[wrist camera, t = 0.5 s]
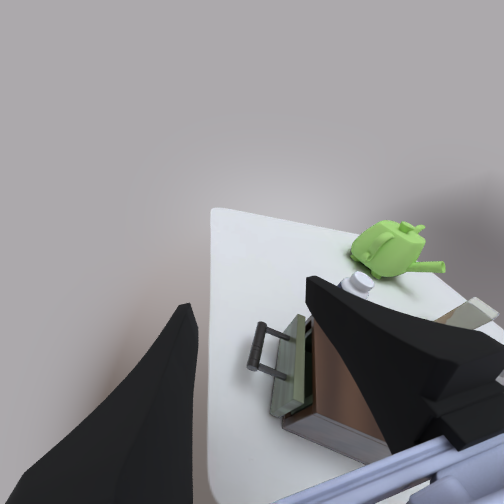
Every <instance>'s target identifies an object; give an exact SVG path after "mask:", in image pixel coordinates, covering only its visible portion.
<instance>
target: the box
mask: <svg viewBox="0 0 504 504" xmlns="http://www.w3.org/2000/svg"><path fill="white" fill-rule="evenodd" d="M498 315H499V313H498V312H497V311H495V310H494V309H492V308H491V307H489V306H488V305H486V304H485V303H484V302H482V301H481V300H479V299H478V298H476V297H474V298H472V299H470V300H468V301H467V302H465V303H463V304H462V305H460V306H458V307H457V308H455V309H453V310H452V311H450V312H448V313H447V314H445V315H443V316H442V317H440V318H438V319H437V320H435V321H433V322H438V323H442V324H446V325H451V326H456V327H461V328H466V329H471V330H474V329H476V328H478V327H480V326H482V325H484V324H486V323H488V322H490V321H492V320H494V319H495V318H496V317H497V316H498Z"/></svg>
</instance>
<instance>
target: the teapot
mask: <svg viewBox="0 0 504 504" xmlns="http://www.w3.org/2000/svg"><path fill="white" fill-rule="evenodd" d="M424 228H425V226H424V225H418V226H416V227H414V226H412V225H411V224H409V223H406V222H401V224H399V223H397V222H394V221H388V220H384V221H380V222H378V223H377V224H375V225H373V226H372V227H370V228H369V229H367V230H366V231H364V232H363V233H362V234H361V235H360V236H359V237H358V238H357V239H356V240H355V241H354V242H353V244H352V248H351V252H352V254H353V255H351V258H352V259H353V260H355V261H357V262H359V261H361V262H362V263H363V264H364V265H366V266H367V267H368V268H369V269H371V270H372V271H371V272H370V273H371V275H372V276H373V277H375V278H377V279H381V276H383V277H393V276H398V275H401V274H404V273H405V272H433V273H445V264H444V262H443V261H438V262H416V260H417V259H418V257H419V255H420V253H421V251H422V249H423V247H424V245H425V239H424V238H423V237H421V236H419V235H418V233H419V232H420V231H421V230H423V229H424Z"/></svg>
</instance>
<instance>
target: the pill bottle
mask: <svg viewBox="0 0 504 504" xmlns="http://www.w3.org/2000/svg"><path fill="white" fill-rule="evenodd" d="M337 287H339V288H341V289H343V290H345V291H348V292H350V293H352V294H354V295H356V296H358V297H361V298H363V299H365V300H366V299H367V298H368V296H369V292H368V291H370V290H371V289H372V288H373V287H374V282H373V280H372V279H371V278H370V277H369V276H368V275H366V274H364V273H362V272H359V271H356V272H354V274H353V275H352V276H351V277H347V278H344V279H343V280H342V281H341V282H340V283H339V284H338V286H337Z"/></svg>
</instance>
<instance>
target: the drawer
mask: <svg viewBox="0 0 504 504" xmlns="http://www.w3.org/2000/svg"><path fill="white" fill-rule="evenodd" d="M265 333H268V334H271V335H273V336H276V337H278V338H280V344H279V351H278V359H277V366H276V370H275V369H273V368H270V367H268V366H265V365H263V364H261V363H260V364H259V362H260V357H261V353H262V348H263V343H264V338H265ZM247 368H248V369H249V370H251V371H257V370H259V371H262V372H264V373H266V374H269V375H271V376H273V377H275V381H274V389H273V396H272V404H271V411H270V414H271V415H274V416H276V417H278V418H279V417H281V416H283V415H285V414H286V413H288V412H290V411H291V415H294V414H296V413H298V412H300V411H302V410H304V409H306V408H308V407H309V406H311V405H313V391H312V328H311V329H310V330H309V331H308V332H307V333H306V334H305V317H304V316H302V315H300V314H297V316H296V317H295V318H294V319H293V321H292V322H291V323H290V325H289V326H288V327H287V328H286V330H285V331H284V332H283V333H281V332H279V331H276V330H274V329H271V328H269V327H267V324H266V323H264V322H258V324H257V328H256V331H255V335H254V339H253V343H252V347H251V351H250V354H249V358H248V362H247Z"/></svg>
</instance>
